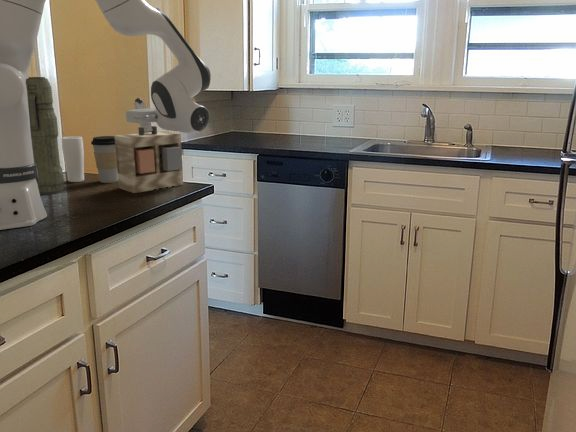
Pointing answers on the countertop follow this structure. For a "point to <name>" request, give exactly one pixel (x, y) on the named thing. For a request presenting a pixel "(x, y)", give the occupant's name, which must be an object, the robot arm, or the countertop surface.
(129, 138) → the console
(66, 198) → the countertop surface
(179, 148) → the key charcoal
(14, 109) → the robot arm
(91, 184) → the countertop surface
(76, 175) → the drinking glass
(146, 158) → the key terracotta
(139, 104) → the toggle lever
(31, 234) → the countertop surface
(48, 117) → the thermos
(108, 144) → the coffee cup
